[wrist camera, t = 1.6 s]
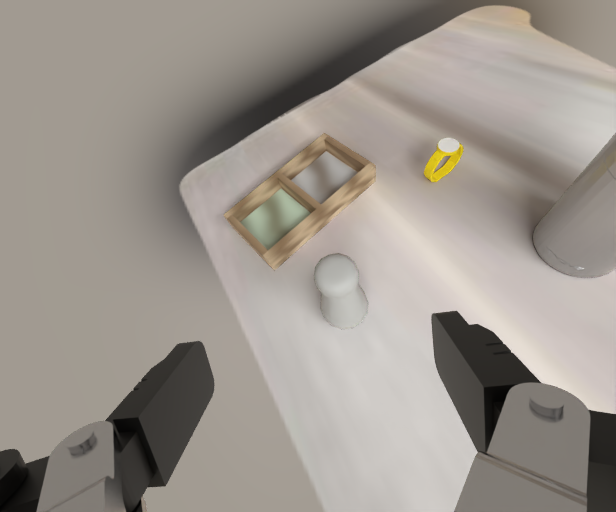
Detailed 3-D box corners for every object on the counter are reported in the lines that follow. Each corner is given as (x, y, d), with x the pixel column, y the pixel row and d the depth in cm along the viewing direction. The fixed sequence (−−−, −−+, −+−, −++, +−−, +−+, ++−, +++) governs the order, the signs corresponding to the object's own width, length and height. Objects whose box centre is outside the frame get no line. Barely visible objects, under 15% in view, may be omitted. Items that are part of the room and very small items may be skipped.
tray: (326, 148, 54) (323, 132, 51) (375, 180, 49) (375, 165, 46) (231, 226, 50) (222, 213, 47) (274, 270, 45) (266, 259, 42)
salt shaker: (318, 298, 42) (297, 254, 31) (358, 284, 42) (353, 234, 30) (331, 340, 39) (314, 308, 28) (375, 325, 39) (376, 287, 28)
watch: (446, 160, 48) (457, 128, 43) (460, 170, 47) (473, 138, 42) (417, 180, 47) (425, 149, 42) (431, 190, 46) (440, 160, 41)
